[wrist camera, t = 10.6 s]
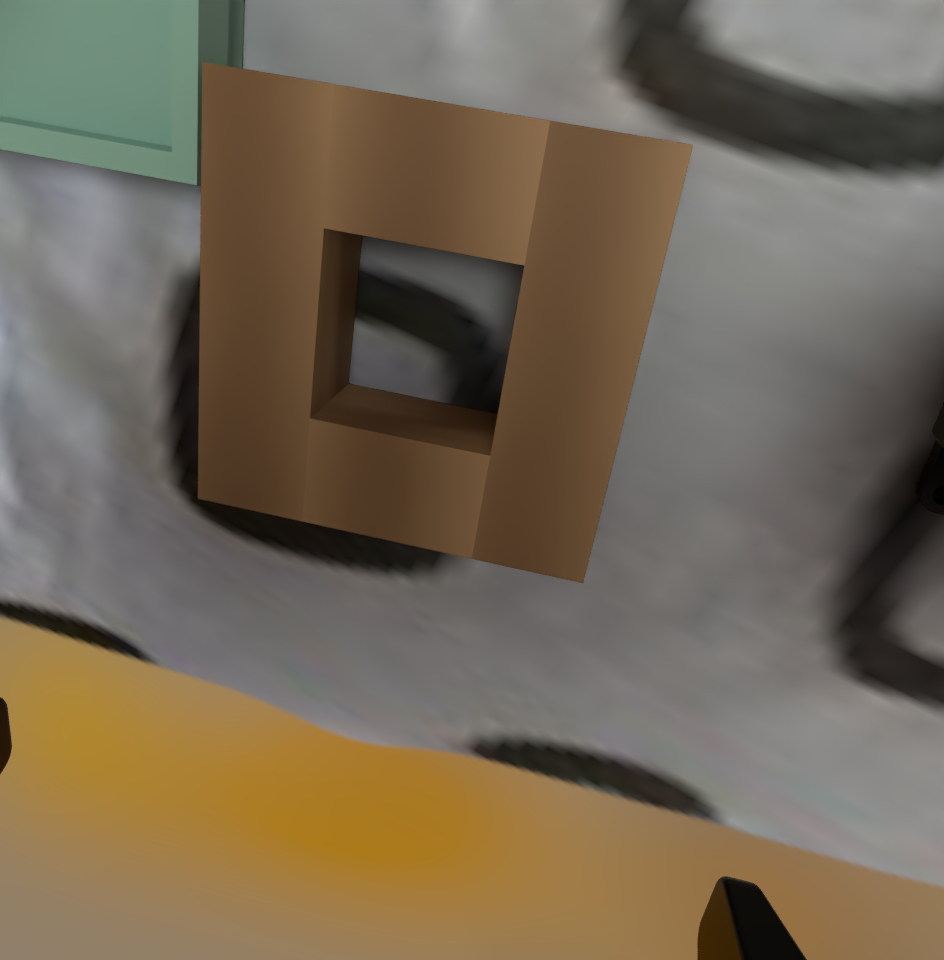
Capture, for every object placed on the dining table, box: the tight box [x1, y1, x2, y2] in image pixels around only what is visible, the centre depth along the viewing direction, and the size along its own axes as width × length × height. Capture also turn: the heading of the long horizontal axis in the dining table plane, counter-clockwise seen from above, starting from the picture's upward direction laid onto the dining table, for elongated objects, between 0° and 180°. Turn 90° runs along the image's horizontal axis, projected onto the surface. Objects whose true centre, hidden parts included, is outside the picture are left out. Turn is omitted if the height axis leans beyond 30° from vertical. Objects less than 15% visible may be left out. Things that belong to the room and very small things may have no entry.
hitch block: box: [198, 62, 693, 583], centre depth 19 cm, size 10×10×3 cm
